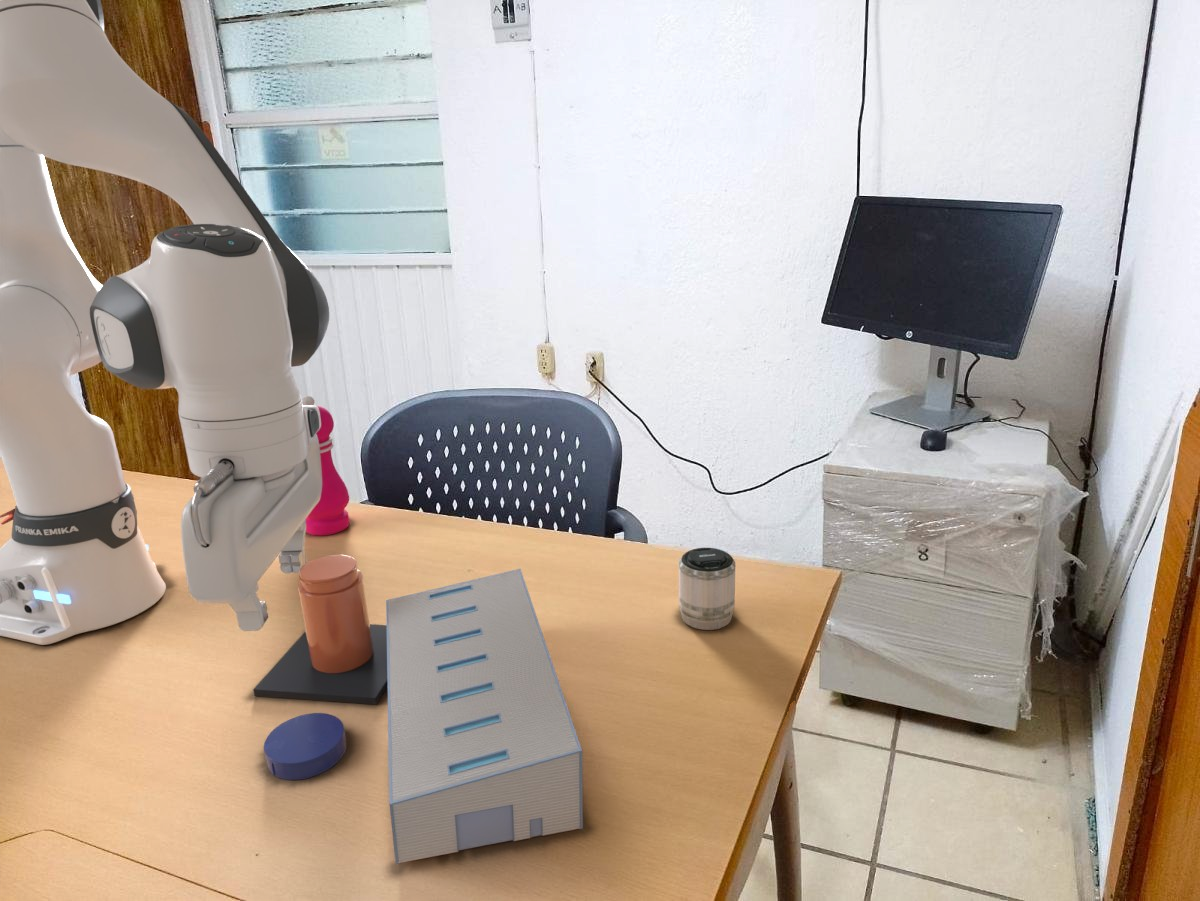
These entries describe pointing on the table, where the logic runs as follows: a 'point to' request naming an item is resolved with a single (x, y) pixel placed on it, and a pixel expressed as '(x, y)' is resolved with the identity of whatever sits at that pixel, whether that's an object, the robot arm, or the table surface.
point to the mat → (328, 676)
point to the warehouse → (476, 722)
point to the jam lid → (305, 746)
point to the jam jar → (335, 614)
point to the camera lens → (706, 588)
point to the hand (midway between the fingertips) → (275, 596)
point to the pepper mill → (327, 484)
